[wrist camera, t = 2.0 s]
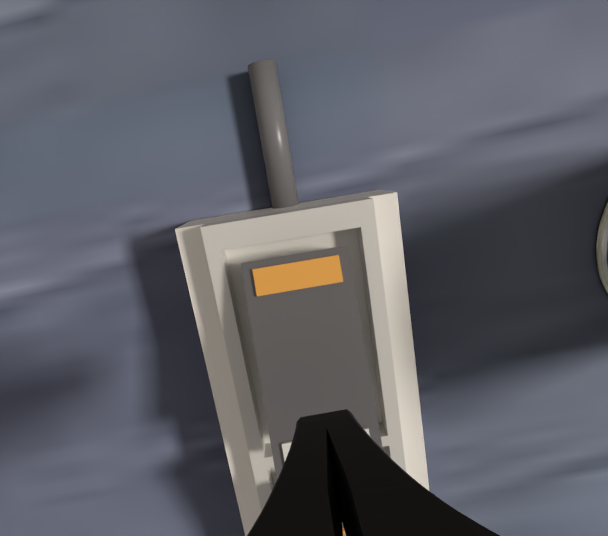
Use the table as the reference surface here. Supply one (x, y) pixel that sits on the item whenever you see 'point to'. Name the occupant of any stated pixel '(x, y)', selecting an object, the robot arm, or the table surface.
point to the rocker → (308, 342)
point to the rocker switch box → (286, 241)
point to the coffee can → (603, 248)
